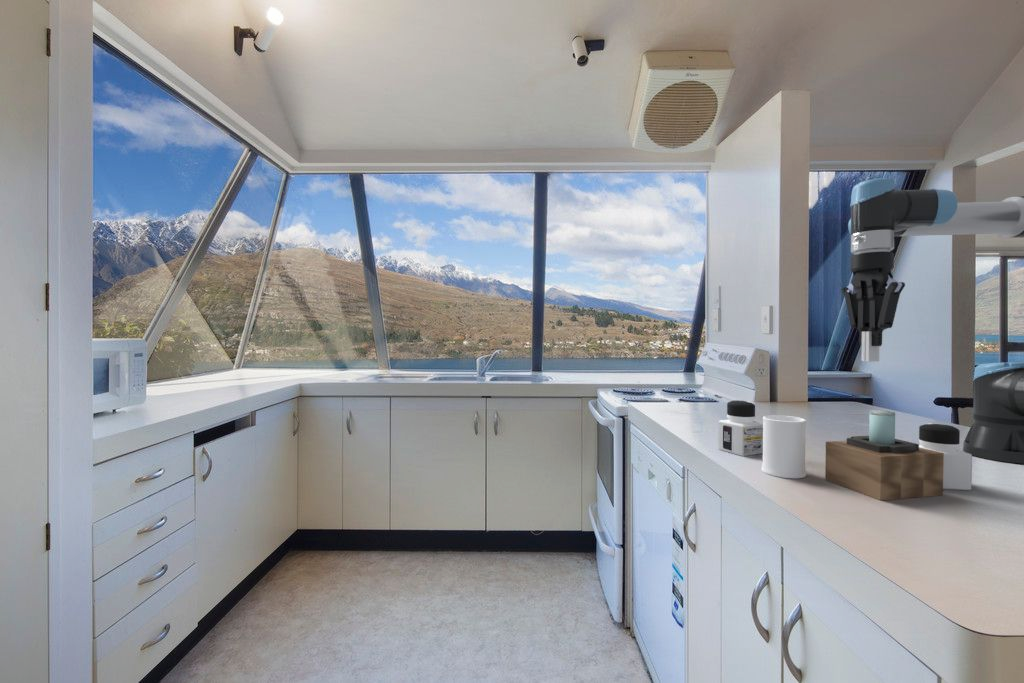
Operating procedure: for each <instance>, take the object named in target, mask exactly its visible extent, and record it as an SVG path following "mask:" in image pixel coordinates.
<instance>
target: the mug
mask: <svg viewBox="0 0 1024 683" xmlns="http://www.w3.org/2000/svg"><path fill="white" fill-rule="evenodd" d="M806 422H807V421H806V419H805V418H802V417H798V416H792V415H791V416H790V415H784V414H783V415H781V414H779V415H778V414H769V415H764V416H763V417H762V423H763V453H762V465H761V472H763V473H765V474H766V475H769V476H773V477H777V478H783V479H794V480H796V479H802V478H806V477H807V472H806V471H807V470H806V428H807V427H806V424H807V423H806Z"/></svg>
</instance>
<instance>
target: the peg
mask: <svg viewBox="0 0 1024 683" xmlns="http://www.w3.org/2000/svg"><path fill="white" fill-rule="evenodd" d="M868 412H869V413H868V414H869V415H868V417H869V418H868V419H869V420H868V422H869V426H868V433H869V434H868V436H869V441H870V442H874V443H879V444H883V445H887V444H895V439H896V412H894V411H889V410H878V409H877V410H876V409H872V410H871V409H870V410H869V411H868Z"/></svg>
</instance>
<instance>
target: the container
mask: <svg viewBox="0 0 1024 683" xmlns="http://www.w3.org/2000/svg"><path fill="white" fill-rule="evenodd" d="M726 404H727V405H726V418H727V419H720V420H719V421H718V443H717V444H718V450H719V451H724V452H727V453H730V454H732V455H733V454H734V455H736V456H740V457H745V456H747V457H748V456H752V455H753V456H754V455H759V454H763V422H760V421H755V420H756V404H755V403H754V402H751V401H748V400H737V399H736V400H731V401H728V402H727V403H726Z"/></svg>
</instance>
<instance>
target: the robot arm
mask: <svg viewBox="0 0 1024 683" xmlns="http://www.w3.org/2000/svg"><path fill="white" fill-rule="evenodd" d="M896 188H897V186H896V181H895V179H892V178H888V177H881V178H880V177H879V178H873V179H872V178H871V179H867V180H864V181H861V182H859V183H857V184H854V186H853V188H852V190H851V197H850V205H849V207H850V219H849V220H848V224H847V228H848V232H849V234H850V253H851V254H853V255H851V256H850V257H849V259H850V260H849V261H850V264H849V266H850V268H849V270H850V272H851V273H852V274H853V275H852V278H851V280H850V284H849V285H847V286H846V287H845V286H844V287H843V286H842V287H841V290H840V291H841V293H842V295H843V296H844V299H845V300H844V301H845V304H846V305H845V306H846V308H847V311H846V312H847V315H848V319H849V320H848V321H849V325H850V328H851V329H855V330H857V331H858V333H859V337H858V338H859V342H858V344H859V346H861V355H860V356H861V358H860V359H861V362H867V363H868V362H871V363H872V362H880V347H881V346H882V345H883V332H884V331H885V330H887V329H892V327H893V324H894V321H895V316H896V312H897V308H898V303H899V299H900V296H901V294H902V291H903V290H904V288H905V286H906V283H905V282H904V281H898V280H896V279H894V276H893V273H892V270H893V269H894V267H895V266H894V265H895V263H894V262H895V257H894V256H895V253H893V250H894V249H895V237H916V236H917V237H920V236H921V237H922V236H952V235H953V236H955V235H957V236H961V235H962V236H963V235H965V236H966V235H991V234H992V235H993V234H994V235H995V236H997V237H1001V238H1004V239H1005V238H1008V239H1009V238H1019V239H1020V238H1024V196H1023V195H1022V196H1009V197H1007V198H1004V199H1002V200H1000V201H981V202H980V201H977V202H958V197H957V195H956V193H954V192H953V191H952V190H947V189H937V188H931V189H929V188H928V189H896ZM972 384H973V386H972V388H973V389H972V391H973V392H972V394H973V395H972V396H973V398H972V400H973V403H972V405H973V406H972V407H973V408H972V409H973V410H972V411H973V412H972V413H973V415H972V416H973V420H972V424H971V425H970V428H969V430H968V432H967V434H966V437H965V438H964V440H963V443H962V451H963V452H966V453H969V454H971V455H972V456H974V457H979V458H982V459H983V458H984V459H987V460H992V461H1000V462H1004V463H1005V462H1007V463H1013V464H1023V465H1024V361H1010V362H1007V361H1006V362H991V363H990V362H989V363H981V364H978V365H976V366H975V369H974V375H973V379H972Z"/></svg>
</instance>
